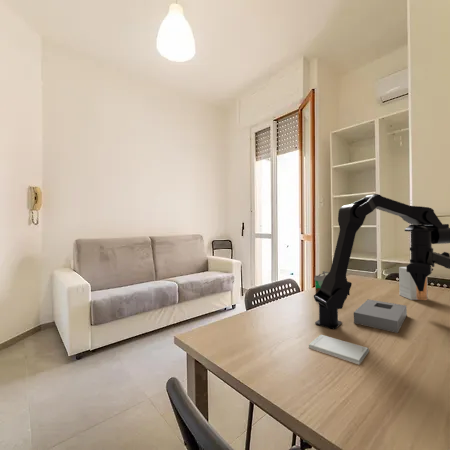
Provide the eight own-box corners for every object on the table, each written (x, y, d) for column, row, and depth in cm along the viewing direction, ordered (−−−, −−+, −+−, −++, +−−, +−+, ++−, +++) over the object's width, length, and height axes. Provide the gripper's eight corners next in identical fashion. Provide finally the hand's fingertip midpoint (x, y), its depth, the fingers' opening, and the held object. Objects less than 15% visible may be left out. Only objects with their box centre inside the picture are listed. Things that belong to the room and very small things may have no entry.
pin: (426, 300, 86) (426, 273, 86) (415, 299, 88) (415, 272, 88) (427, 298, 88) (427, 272, 88) (416, 297, 90) (416, 271, 90)
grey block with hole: (397, 332, 76) (397, 321, 76) (353, 322, 84) (353, 312, 84) (406, 315, 89) (406, 305, 89) (368, 308, 98) (368, 299, 97)
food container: (329, 301, 107) (329, 277, 107) (314, 298, 111) (314, 275, 111) (337, 294, 117) (336, 272, 117) (323, 292, 121) (323, 270, 121)
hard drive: (369, 347, 66) (321, 333, 74) (359, 360, 60) (308, 343, 68) (369, 353, 66) (321, 339, 74) (359, 367, 60) (308, 349, 68)
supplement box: (428, 299, 106) (428, 269, 106) (410, 300, 106) (409, 269, 106) (415, 294, 114) (415, 266, 114) (398, 295, 114) (398, 266, 114)
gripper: (451, 248, 76) (452, 301, 76) (452, 243, 89) (453, 288, 90) (405, 246, 83) (406, 294, 83) (413, 242, 97) (413, 283, 97)
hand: (421, 290), depth 88 cm, fingers closed on pin, 3 cm apart
